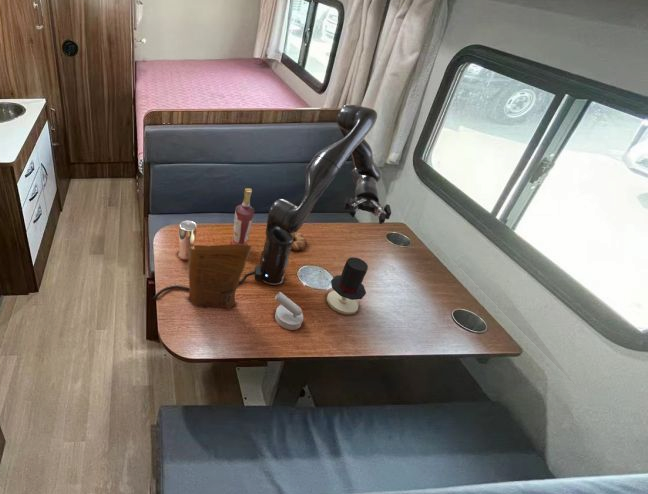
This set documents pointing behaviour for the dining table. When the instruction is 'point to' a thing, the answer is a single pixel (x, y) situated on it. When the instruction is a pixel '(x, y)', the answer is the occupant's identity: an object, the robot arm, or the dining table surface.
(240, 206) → the liquor
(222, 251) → the pancake mix bag
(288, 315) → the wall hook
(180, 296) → the dining table surface
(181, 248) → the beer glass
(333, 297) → the hat stand
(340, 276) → the hat
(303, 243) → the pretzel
